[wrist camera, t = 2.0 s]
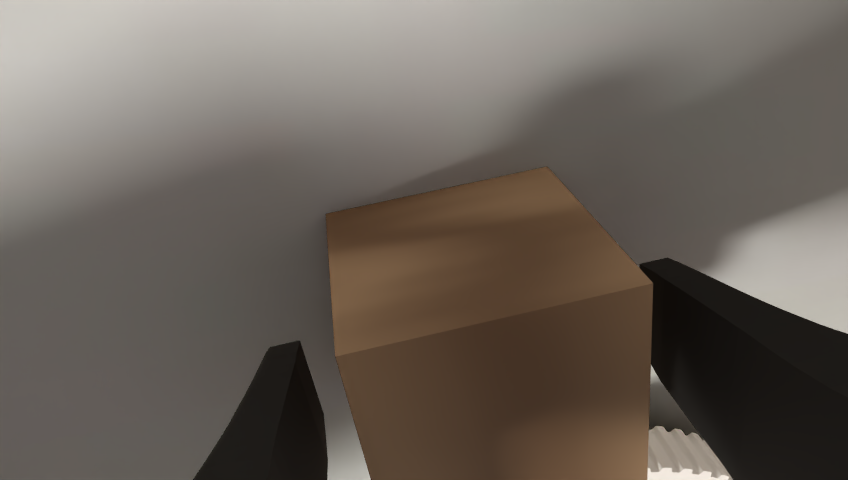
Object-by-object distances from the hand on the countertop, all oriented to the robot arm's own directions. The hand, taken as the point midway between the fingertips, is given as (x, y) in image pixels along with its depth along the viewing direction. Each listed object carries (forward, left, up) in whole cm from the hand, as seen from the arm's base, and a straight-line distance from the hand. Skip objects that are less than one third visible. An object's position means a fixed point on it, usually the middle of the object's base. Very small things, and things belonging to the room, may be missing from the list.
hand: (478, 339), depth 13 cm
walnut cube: (0, 0, -2) cm, 2 cm away
